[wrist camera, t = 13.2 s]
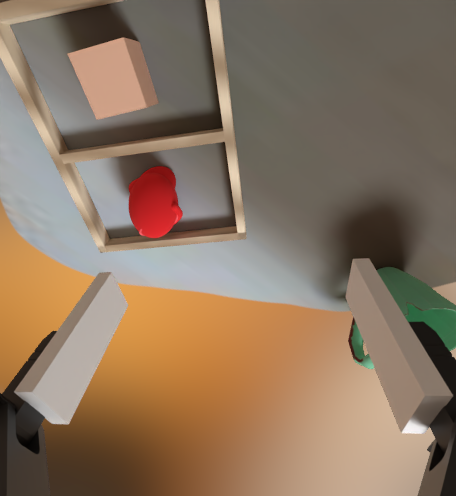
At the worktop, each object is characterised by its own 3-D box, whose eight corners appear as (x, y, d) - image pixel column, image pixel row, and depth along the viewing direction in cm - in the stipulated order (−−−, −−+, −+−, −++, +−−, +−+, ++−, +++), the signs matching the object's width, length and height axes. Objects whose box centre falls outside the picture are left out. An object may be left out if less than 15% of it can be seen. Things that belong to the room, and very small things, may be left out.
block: (91, 56, 24) (67, 53, 21) (139, 42, 24) (123, 37, 20) (114, 113, 27) (96, 119, 24) (158, 102, 26) (147, 107, 23)
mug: (382, 242, 34) (426, 296, 26) (436, 268, 36) (493, 326, 28) (316, 309, 42) (334, 367, 34) (364, 327, 44) (391, 386, 36)
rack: (-8, 12, 23) (-25, 8, 21) (214, -37, 21) (212, -46, 19) (106, 245, 37) (100, 252, 35) (246, 231, 34) (246, 238, 33)
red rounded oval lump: (180, 244, 32) (189, 224, 27) (129, 245, 30) (128, 223, 25) (176, 189, 35) (183, 160, 30) (128, 186, 33) (127, 155, 27)
